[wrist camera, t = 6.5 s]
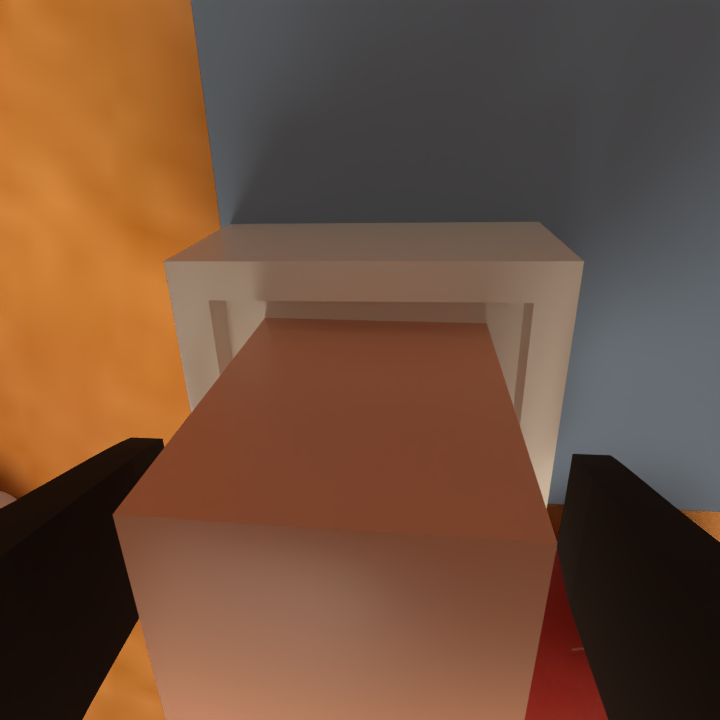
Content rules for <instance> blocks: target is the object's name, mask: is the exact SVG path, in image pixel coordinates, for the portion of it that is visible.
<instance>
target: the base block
mask: <svg viewBox="0 0 720 720" xmlns="http://www.w3.org/2000/svg"><path fill="white" fill-rule="evenodd" d="M164 266H165V271H166V277H167V282H168V288H169V293H170V299H171V304H172V310H173V315H174V321H175V327H176V332H177V338H178V343H179V349H180V354H181V360H182V365H183V371H184V376H185V382H186V387H187V393H188V398H189V404H190V409H191V413H192V411H193V410H194V409H195V407H196V406H197V405H198V404H199V402H200V401H201V400H202V398H203V397H204V396H205V394H206V393H207V392H208V391H209V389H210V388H211V387H212V385H213V384H214V383H215V382H216V380H217V379H218V378H219V376H220V375H221V374H222V372H223V371H224V370H225V369H226V367H227V366H228V365H229V363H230V362H231V361H232V360H233V358H234V357H235V356H236V354H237V353H238V352H239V351H240V349H241V348H242V347H243V345H244V344H245V343H246V341H247V340H248V339H249V338H250V336H251V335H252V334H253V332H254V331H255V330H256V329H257V327H258V326H259V325H260V323H261V322H262V321H263V320H264V318H292V319H332V320H372V321H412V322H452V323H487V326H488V329H489V332H490V335H491V339H492V342H493V345H494V348H495V351H496V354H497V357H498V360H499V363H500V366H501V370H502V373H503V376H504V379H505V382H506V385H507V388H508V391H509V394H510V397H511V401H512V404H513V407H514V410H515V413H516V416H517V419H518V422H519V425H520V428H521V432H522V435H523V438H524V441H525V444H526V447H527V450H528V453H529V456H530V459H531V463H532V466H533V469H534V472H535V475H536V478H537V481H538V484H539V487H540V490H541V494H542V497H543V500H544V503H545V506H546V509H547V504H548V497H549V490H550V484H551V477H552V471H553V464H554V457H555V451H556V444H557V438H558V431H559V424H560V418H561V411H562V405H563V398H564V391H565V385H566V378H567V371H568V365H569V358H570V352H571V345H572V338H573V332H574V325H575V319H576V312H577V305H578V299H579V292H580V286H581V279H582V272H583V266H584V261H583V260H582V259H581V258H580V257H579V256H577V255H576V254H575V253H574V252H573V251H572V250H571V249H569V248H568V247H567V246H566V245H565V244H564V243H563V242H561V241H560V240H559V239H558V238H557V237H556V236H555V235H554V234H552V233H551V232H550V231H549V230H548V229H547V228H546V227H544V226H543V225H542V224H541V223H540V222H433V223H299V224H229V225H228V226H226V227H224V228H222V229H220V230H219V231H217V232H215V233H213V234H212V235H210V236H208V237H206V238H204V239H203V240H201V241H199V242H197V243H196V244H194V245H192V246H190V247H188V248H187V249H185V250H183V251H181V252H180V253H178V254H176V255H174V256H172V257H171V258H169V259H167V260H165V261H164Z"/></svg>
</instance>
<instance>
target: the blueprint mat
mask: <svg viewBox="0 0 720 720" xmlns="http://www.w3.org/2000/svg"><path fill="white" fill-rule="evenodd" d="M191 5H192V12H193V20H194V27H195V35H196V43H197V50H198V58H199V65H200V73H201V80H202V88H203V96H204V103H205V111H206V118H207V126H208V133H209V141H210V149H211V156H212V164H213V171H214V179H215V186H216V194H217V202H218V209H219V217H220V224H221V229H222V228H224V227H226V226H228V225H229V224H299V223H433V222H540V223H541V224H542V225H543V226H544V227H546V228H547V229H548V230H549V231H550V232H551V233H552V234H554V235H555V236H556V237H557V238H558V239H559V240H560V241H561V242H563V243H564V244H565V245H566V246H567V247H568V248H569V249H571V250H572V251H573V252H574V253H575V254H576V255H577V256H579V257H580V258H581V259H582V260H583V261H584V266H583V272H582V279H581V286H580V292H579V299H578V305H577V312H576V319H575V325H574V332H573V338H572V345H571V352H570V358H569V365H568V371H567V378H566V385H565V391H564V398H563V405H562V411H561V418H560V424H559V431H558V438H557V444H556V451H555V457H554V464H553V471H552V477H551V484H550V490H549V497H548V504H563V505H564V502H565V496H566V490H567V484H568V478H569V472H570V466H571V460H572V454H593V455H611V456H613V457H614V458H615V459H617V460H618V461H619V462H621V463H622V464H623V465H624V466H626V467H627V468H628V469H629V470H631V471H632V472H633V473H634V474H636V475H637V476H638V477H639V478H640V479H642V480H643V481H644V482H645V483H647V484H648V485H649V486H650V487H651V488H653V489H654V490H655V491H656V492H657V493H659V494H660V495H661V496H662V497H664V498H665V499H666V500H667V501H668V502H670V503H671V504H672V505H673V506H675V507H676V508H677V509H678V510H693V511H715V512H720V0H191Z"/></svg>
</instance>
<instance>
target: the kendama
mask: <svg viewBox="0 0 720 720" xmlns="http://www.w3.org/2000/svg"><path fill="white" fill-rule="evenodd" d="M525 720H608V718H607V715H606V712H605V709H604V706H603V703H602V700H601V697H600V694H599V692H598V689H597V686H596V683H595V680H594V677H593V674H592V671H591V668H590V666H589V663H588V660H587V657H586V654H585V651H584V648H583V645H582V642H581V639H580V636H579V633H578V630H577V628H576V625H575V622H574V619H573V616H572V613H571V609H570V606H569V603H568V598H567V594H566V589H565V585H564V580H563V576H562V571H561V566H560V561H559V556H558V551H556V554H555V559H554V565H553V570H552V575H551V581H550V586H549V591H548V597H547V602H546V607H545V613H544V618H543V623H542V629H541V634H540V640H539V645H538V650H537V656H536V661H535V666H534V672H533V677H532V682H531V688H530V693H529V698H528V704H527V709H526V714H525Z"/></svg>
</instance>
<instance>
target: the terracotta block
mask: <svg viewBox="0 0 720 720" xmlns="http://www.w3.org/2000/svg"><path fill="white" fill-rule="evenodd" d="M113 519H114V522H115V526H116V530H117V534H118V538H119V542H120V545H121V549H122V553H123V557H124V561H125V565H126V569H127V572H128V576H129V580H130V584H131V588H132V592H133V595H134V599H135V603H136V607H137V611H138V615H139V619H140V622H141V626H142V630H143V634H144V638H145V642H146V645H147V649H148V653H149V657H150V661H151V665H152V669H153V672H154V676H155V680H156V684H157V688H158V692H159V695H160V699H161V703H162V707H163V711H164V715H165V719H166V720H525V714H526V709H527V704H528V698H529V693H530V688H531V682H532V677H533V672H534V666H535V661H536V656H537V650H538V645H539V640H540V634H541V629H542V623H543V618H544V613H545V607H546V602H547V597H548V591H549V586H550V581H551V575H552V570H553V565H554V559H555V554H556V548H557V540H556V537H555V534H554V531H553V528H552V525H551V521H550V518H549V515H548V512H547V509H546V506H545V503H544V500H543V497H542V494H541V490H540V487H539V484H538V481H537V478H536V475H535V472H534V469H533V466H532V463H531V459H530V456H529V453H528V450H527V447H526V444H525V441H524V438H523V435H522V432H521V428H520V425H519V422H518V419H517V416H516V413H515V410H514V407H513V404H512V401H511V397H510V394H509V391H508V388H507V385H506V382H505V379H504V376H503V373H502V370H501V366H500V363H499V360H498V357H497V354H496V351H495V348H494V345H493V342H492V339H491V335H490V332H489V329H488V326H487V323H452V322H412V321H372V320H332V319H292V318H264V320H263V321H262V322H261V323H260V325H259V326H258V327H257V329H256V330H255V331H254V332H253V334H252V335H251V336H250V338H249V339H248V340H247V341H246V343H245V344H244V345H243V347H242V348H241V349H240V351H239V352H238V353H237V354H236V356H235V357H234V358H233V360H232V361H231V362H230V363H229V365H228V366H227V367H226V369H225V370H224V371H223V372H222V374H221V375H220V376H219V378H218V379H217V380H216V382H215V383H214V384H213V385H212V387H211V388H210V389H209V391H208V392H207V393H206V394H205V396H204V397H203V398H202V400H201V401H200V402H199V404H198V405H197V406H196V407H195V409H194V410H193V411H192V413H191V414H190V415H189V416H188V418H187V419H186V420H185V422H184V423H183V424H182V425H181V427H180V428H179V429H178V431H177V432H176V433H175V435H174V436H173V437H172V438H171V440H170V441H169V442H168V444H167V445H166V446H165V447H164V449H163V450H162V451H161V453H160V454H159V455H158V456H157V458H156V459H155V460H154V462H153V463H152V464H151V466H150V467H149V468H148V469H147V471H146V472H145V473H144V475H143V476H142V477H141V478H140V480H139V481H138V482H137V484H136V485H135V486H134V488H133V489H132V490H131V491H130V493H129V494H128V495H127V497H126V498H125V499H124V500H123V502H122V503H121V504H120V506H119V507H118V508H117V509H116V511H115V512H114V513H113Z"/></svg>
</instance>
